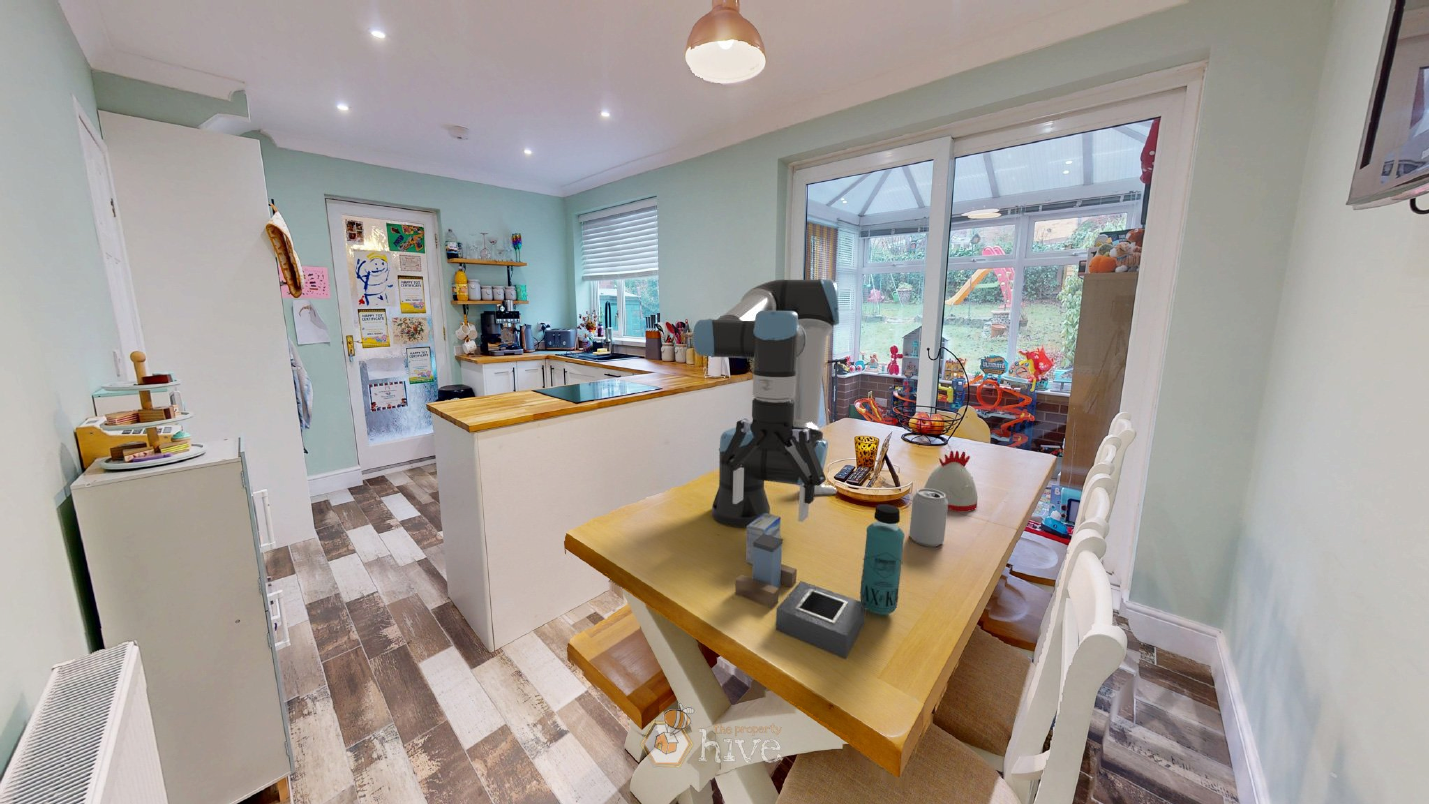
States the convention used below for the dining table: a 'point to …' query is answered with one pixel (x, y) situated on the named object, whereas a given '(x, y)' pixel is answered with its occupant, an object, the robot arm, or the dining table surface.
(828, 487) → the seated beast figurine
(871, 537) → the beverage bottle
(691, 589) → the dining table surface
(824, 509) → the dining table surface
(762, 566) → the plug
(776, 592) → the pair of wooden blocks
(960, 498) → the red crested white hat
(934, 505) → the can
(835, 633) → the port
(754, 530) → the medicine box
